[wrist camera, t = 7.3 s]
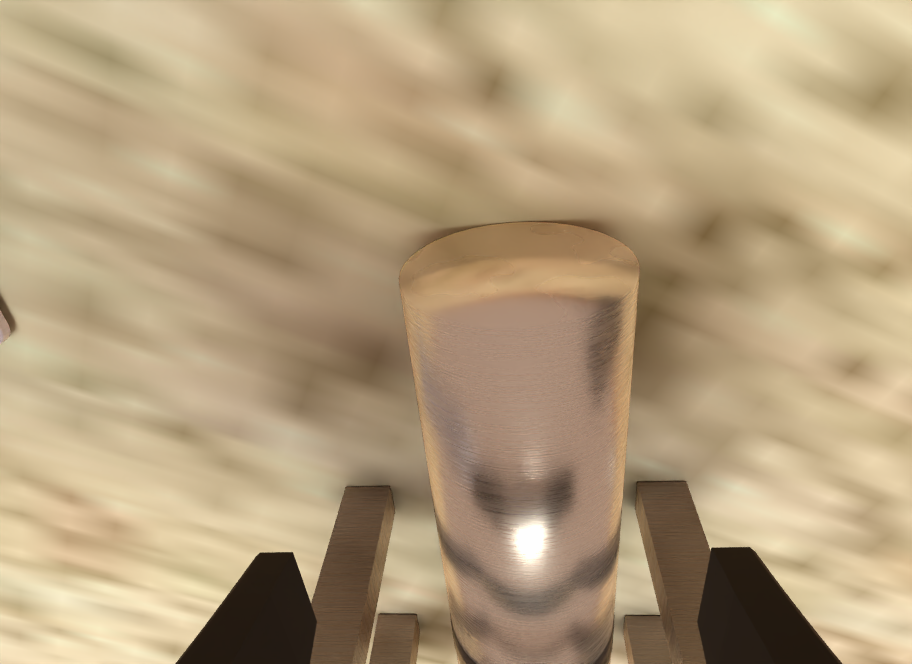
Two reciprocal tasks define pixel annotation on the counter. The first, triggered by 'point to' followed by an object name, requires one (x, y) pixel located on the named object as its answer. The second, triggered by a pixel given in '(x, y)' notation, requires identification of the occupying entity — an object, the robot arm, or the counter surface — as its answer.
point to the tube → (525, 431)
